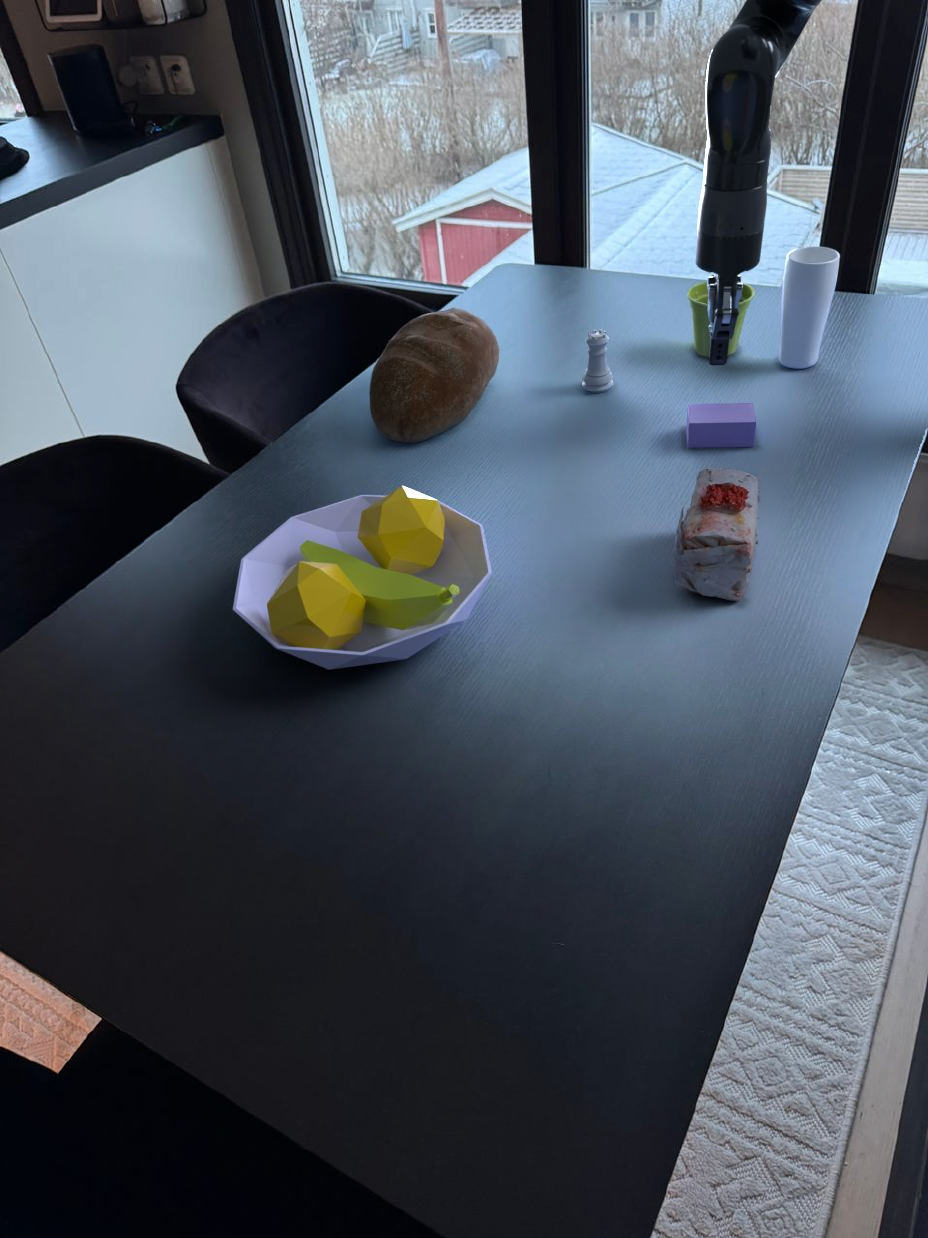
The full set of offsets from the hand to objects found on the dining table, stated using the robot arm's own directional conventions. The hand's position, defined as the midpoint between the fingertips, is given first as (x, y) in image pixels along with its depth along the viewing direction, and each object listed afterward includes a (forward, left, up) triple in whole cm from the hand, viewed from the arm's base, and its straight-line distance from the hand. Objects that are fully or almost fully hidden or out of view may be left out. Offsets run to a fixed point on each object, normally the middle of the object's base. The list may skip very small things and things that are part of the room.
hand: (717, 362), depth 115 cm
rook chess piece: (+16, -7, -7) cm, 18 cm away
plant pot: (-1, -18, -7) cm, 19 cm away
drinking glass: (-12, -13, -7) cm, 19 cm away
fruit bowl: (+37, +44, -7) cm, 58 cm away
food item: (+2, +35, -7) cm, 36 cm away
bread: (+39, -5, -7) cm, 40 cm away
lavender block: (0, +8, -6) cm, 10 cm away
